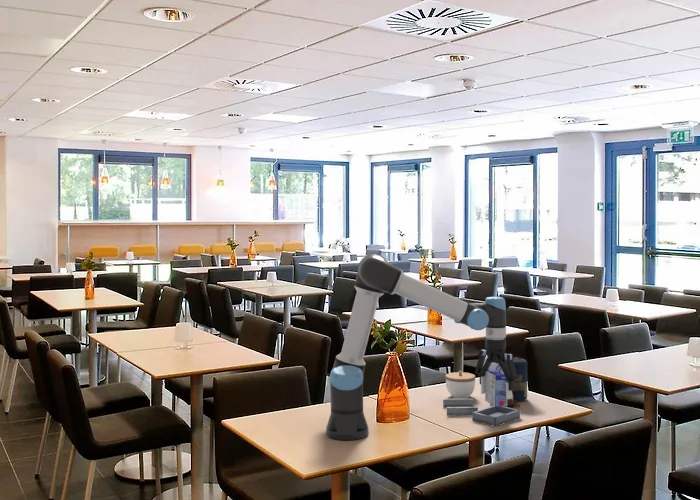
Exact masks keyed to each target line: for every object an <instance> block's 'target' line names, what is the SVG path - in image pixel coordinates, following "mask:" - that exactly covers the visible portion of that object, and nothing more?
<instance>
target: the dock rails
mask: <svg viewBox="0 0 700 500" xmlns="http://www.w3.org/2000/svg"><path fill="white" fill-rule="evenodd" d="M442 402H443V403H442V404H443V405H442V407H444V408H446V416H472V412H475V411H478V410H479V406H474V399H473V398H466V399H457V398H443V399H442Z"/></svg>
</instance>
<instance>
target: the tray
mask: <svg viewBox="0 0 700 500" xmlns="http://www.w3.org/2000/svg"><path fill="white" fill-rule="evenodd" d="M519 419H521V410H520V409H512V408H508V407H494V406H491V405H490V406H488V407H485V408H481V409H478V411H475V412H472V415H471V420H472V421H474V422H478V423H481V424H484V425H489V426H492V425H493V427H496V426H497V427H499V426H501V425H500V424H502V425H504V424H503V423H505V424H507V422H508V423H511V422H513V421H515V420H519ZM510 421H511V422H510ZM498 425H499V426H498Z"/></svg>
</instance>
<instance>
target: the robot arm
mask: <svg viewBox="0 0 700 500" xmlns="http://www.w3.org/2000/svg"><path fill="white" fill-rule="evenodd" d="M354 289H355V290H356V294H355V298H354V301H353V304H352V309H351V313H350V316H349V321H348V324H347V325H348V326H347V328H346V332H345V336H344V341H343V344H342V348H341V352H339V354H337V355H335V359H334V363H333V366H332V369H331V371H330V375H329V382H330V385H329V387H330V415H329V418H328V422H327V424H326V429H325V431H326V432H325V433H326V434H327V435H328V436H329V437H328V436H327V435H326V436H327V437H328V438H330V437H331V438H330V439H332V438H333V440H337V441H356V440H360V439H361V440H362V439H363V438H366V437H367V436H369V432H370V431H369V425H368V421H367V419H366V416H365V413H364V373H365V370H366V364H367V363H366V362H365V359H364V357H365V353H366V349H367V346H368V342H369V338H370V337H369V336H370V333H371V329H372V326H373V322H374V318H375V315H376V310H377V307H378V304H379V298H380V297H382V296H383V295H384V294H385V293H386V294H389V295H394V294H396V295H398V296H401V297H402V298H404V299H407V300H409V301H410V302H411V301H412V302H414V303H416V304H418V305H420V306H422V307H425V308H427V309H429V310H431V311H434V312H435V313H439V314H441V315H443V316H445V317H448V318H450V319H452V320H454V321H453V322H454V323H455V324H462V325H465V326H467V327H469V328H470V329H471V330H474V331H482V330H484V329H485V337H486V338H485V348H486V349H485V348H484V349H480V350H479V353H478V355H479V356H478V361H477V362H476V363H477V364H476V366H475V370H474V373H475V374H474V375H477V376H478V377H479V385H480V394H481V395H485V376H486V370H490V367H491V365H492V364H493V363H494V364H497V365H499V366H501V370H502V372H503V373H504V375H505V377H506V379H507V382H506V399H507V400H508V399H511V398H512V390H513V382H514V381H516V380H518V376H517V372H516V369H515V365H514V362H513V358H514V354H513V353H507V352H506V348H507V340H506V337H507V327H506V326H507V325H506V324H507V322H506V320H507V318H506V317H507V307H506V306H507V305H506V300H505V298H504V297H502V296H487V297H486V298H485V300H484V302H479V303H474V302H473V303H472V302H466V301H464V300H462V299H460V298H457V297H456V296H453V295H452V294H449V293H447V292H444V291H442V290H440V289H438V288H436V287H434V286H432V285H429V284H428V283H427V284H426V283H425V282H422V281H420V280H419V279H416V278H414V277H411V276H409V275H407V274H405V273H404V271H403V269H401V268H399V267H396V266H395V265H393V264H392V263H390V262H389V261H388V260H387V258H385V257H384V256H382V255H380V254H375V253H373V254H372V253H371V254H368V255H366V256H364V257H363V258H362V259H361V260H360V261H359V263H358V265H357V272H356V277H355V281H354ZM486 356H487V357H486ZM505 359H506V360H507V362H506V360H505ZM506 363H507V364H506ZM507 365H508V366H507Z"/></svg>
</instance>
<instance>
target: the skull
mask: <svg viewBox="0 0 700 500" xmlns="http://www.w3.org/2000/svg"><path fill="white" fill-rule="evenodd" d="M489 405H490V407H491V406H493V405H491V404H490V403H489ZM507 407H508V408H512V409H517V410H519V408H521V403H520V402H518V401H513V393H512V398H511V399H508V406H507Z"/></svg>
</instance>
